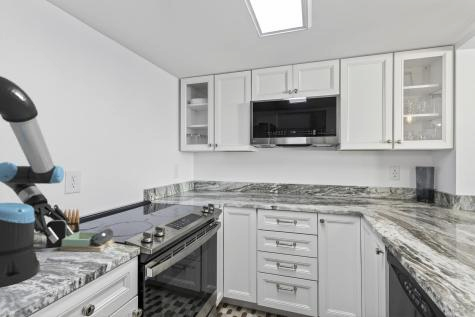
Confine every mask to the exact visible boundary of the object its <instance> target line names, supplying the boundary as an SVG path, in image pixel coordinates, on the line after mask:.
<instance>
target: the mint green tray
mask: <svg viewBox="0 0 475 317" xmlns="http://www.w3.org/2000/svg"><path fill="white" fill-rule="evenodd" d="M113 236H114V231H113V229H111V228H105V229H104V230H101V231H79V232H74V234H73V235H71V236H66V238H64V239H62V246H61V247H59V251H62V252H96V253H97V252H102V251H103V250H105V249H107V248H108V247H110V246H111V245H113V244H114V243H116V238H115V237H114V238H113Z"/></svg>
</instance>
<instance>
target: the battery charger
mask: <svg viewBox="0 0 475 317" xmlns="http://www.w3.org/2000/svg"><path fill="white" fill-rule="evenodd" d="M46 224H47V228H48V227H50V228H51V229H52V231H53V232H54V233H55V235H56V236H57V237H58V240H57V241H56V242H55V243H52V242H51V240H50V239H49V238H48V237H46V236H45V237H46V245H45V246H46V248H47V249H49V248H58V247H59V248H60V247H61V246H62V239H64V238H66V237H67V235H66V231H67V222H66V220H53V219H51V220H50V221H48V222H46Z"/></svg>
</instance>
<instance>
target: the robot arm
mask: <svg viewBox="0 0 475 317" xmlns="http://www.w3.org/2000/svg"><path fill="white" fill-rule="evenodd" d="M38 112H39V111H38V110H37V106H36V105H35V103H34V102H33V100H32V98H31V97H30V95H28V93H26V91H25V90H24V89H22V88H21V87H20V86H19V85H17V84H16V83H15V82H13V81H12V80H10V79H8V78H6V77H4V76H2V75H0V116H1V118H2V121H4V122H6V123H9V126H10V128H11V130H12V132H13V134H14V136H15V137H16V139H17V142H18V144H19V147H20V149H21V151H22V153H23V154H24V156H25V158H26V160H27V163H28V164H29V165H16V164H14V163H13V162H8V161H5V162H3V161H2V162H0V182H1V183H2V184H4V185H5V186H7V187H8V188H10V189H11V190H12V191H13V192H14V193H15V194H16V196H17V197H18V199H19V200H20V201H21V202H0V288H1V287H6V286H10V285H14V284H18V283H20V282H23V281H26V280H28V279H30V278H33V277H34V276H36V275H37V274H39V272H40V269H41V268H40V260H38V257H37V254H36V252H35V248H34V244H35V243H34V242H35V240H34V239H35V232H36V233H40V234H42V233H43V234H44V236H45V237H48V238H49V239H50V240H51V242H52V243H55V242H56V241H57V240H58V237H57V236H56V235H55V233H54V232H53V231H52V229H51V228H50V227H48V228H47V221H46V217H47V218H50V219H51V220H66V222H68V221H69V219H68V215H67V216H66V215H65V214H64V212H63V210H62V209H60V208H59V206H58V204H54V205H52V204H51V205H50V203H49V202H48V199H47V198H46V196H45V195H44V194H43V192H42V191H41V190H40V189H39V187H38V186H37V185H38V184H39V185H41V184H43V185H47V184H48V185H51V184H60V183H61V182H62V181H63V180H64V176H65V170H64V167H62V166H60V165H55V164H54V161H53V159H52V156H51V153H50V151H49V148H48V146H47V144H46V141H45V138H44V135H43V133H42V129H41V126H40V124H39V122H38V119H37V118H38V116H39V113H38ZM62 183H63V182H62ZM61 210H62V211H61ZM73 234H75V232H74V233H73V232H72V230H71V229H70V227H69V225H68V224H67V231H66V237H68V236H71V235H73Z"/></svg>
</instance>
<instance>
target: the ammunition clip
mask: <svg viewBox="0 0 475 317" xmlns="http://www.w3.org/2000/svg"><path fill="white" fill-rule="evenodd" d="M60 210H61V211H62V212H63V210H62V209H60ZM67 211H68V212H67ZM79 212H80V210H79V208H77V209H76V211H75V209H74V208H73V209H72V212H71V209H68V210H67V209H66V208H65V209H64V212H63V213H64V214H65V215H66V216H67V217H68V219H69V221H68V222H67V224H68V225H69V227H70V229H71V230H72V232H74V233H77V232H80V213H79Z"/></svg>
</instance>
